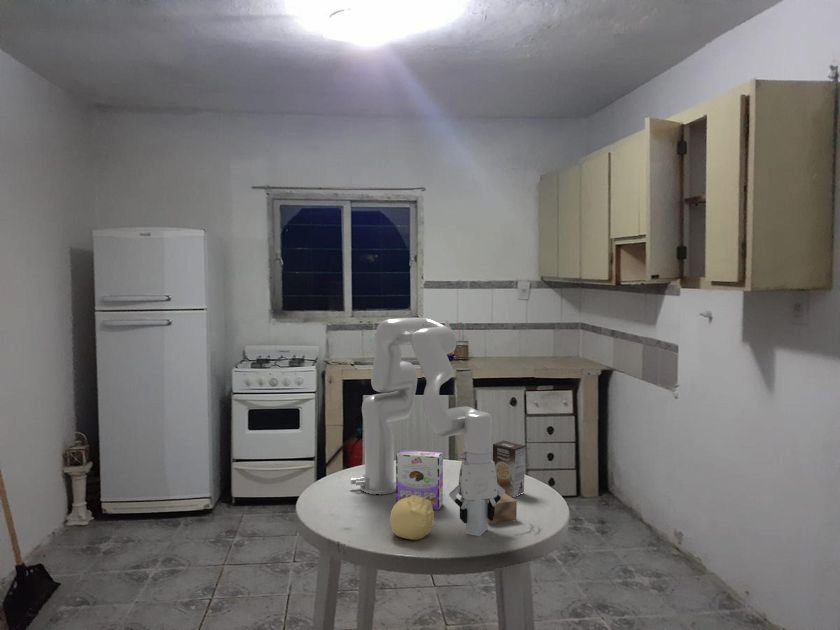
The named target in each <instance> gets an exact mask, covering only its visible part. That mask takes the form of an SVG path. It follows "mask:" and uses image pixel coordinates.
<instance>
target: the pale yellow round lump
mask: <svg viewBox="0 0 840 630" xmlns="http://www.w3.org/2000/svg"><path fill="white" fill-rule="evenodd" d="M434 514H435V512H434V509H433V508H432V503H431V501H430V500H427V499H425V498H424V497H419V496H415V495H411V496H410V497H406V498H403V499H401V500H399V501H398V502H397V503H395V504H393V507H392V509H391V512H390V516H389V524H390V528H391V530H392V532H393V534H395V536H398V537H399V538H402V539H407V540H413V541H417V540H421V539H423V538H425V537H426V536H427V535H429V533H430V532H431V531H432V528H433V526H434V522H433V521H434V520H435V515H434Z"/></svg>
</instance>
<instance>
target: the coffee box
mask: <svg viewBox="0 0 840 630" xmlns="http://www.w3.org/2000/svg"><path fill="white" fill-rule="evenodd" d="M492 461H493V462H494V463H495V469H496V477H497V484H498V485H499V486H500V487H502V488H503V489H504V490H505V494H507V495H508V496H510V497H515V498H517V497H518V496H517V495H519V494H521V493H523V492H524V493H525V471H526V445H523V444H519V443H516V442H512V441H511V442H510V441H507V440H500V441H498V442H495V443H492ZM497 492H498V490H497ZM516 496H517V497H516Z"/></svg>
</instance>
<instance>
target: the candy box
mask: <svg viewBox="0 0 840 630" xmlns="http://www.w3.org/2000/svg"><path fill="white" fill-rule="evenodd" d="M395 465H396V466H395V477H396V478H395V480H396V481H395V482H396V491H395V493H396V497H395V498H396V500H395V502H396V503H397V502H398V501H399V500H401V499H403V498H406V497H410V496H411V495H415V496H419V497H424V498H425V499H427V500H430V501H431V503H432V508H433V510H437V511H439V510H440V509H441V507H443V505H444V452H440V451H439V452H436V451H426V450H425V451H424V450H423V451H421V450H410V449H400V450H399V452H397V453H396V454H395ZM396 503H395V504H396Z"/></svg>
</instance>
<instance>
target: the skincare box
mask: <svg viewBox="0 0 840 630" xmlns="http://www.w3.org/2000/svg"><path fill="white" fill-rule="evenodd" d="M466 509H467V523H465V524H466V525H465V526H466V527H465V528H466V529H465V530H466V532H465V533H466V535H471V536H476V537H481V536H482V535H483V534H484V533H485V532H486V531H487V530H488V528H489V527H488V526H489V524H488V499H486V500H482V499H481V493H476V500H474V501H468V503H467V505H466Z"/></svg>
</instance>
